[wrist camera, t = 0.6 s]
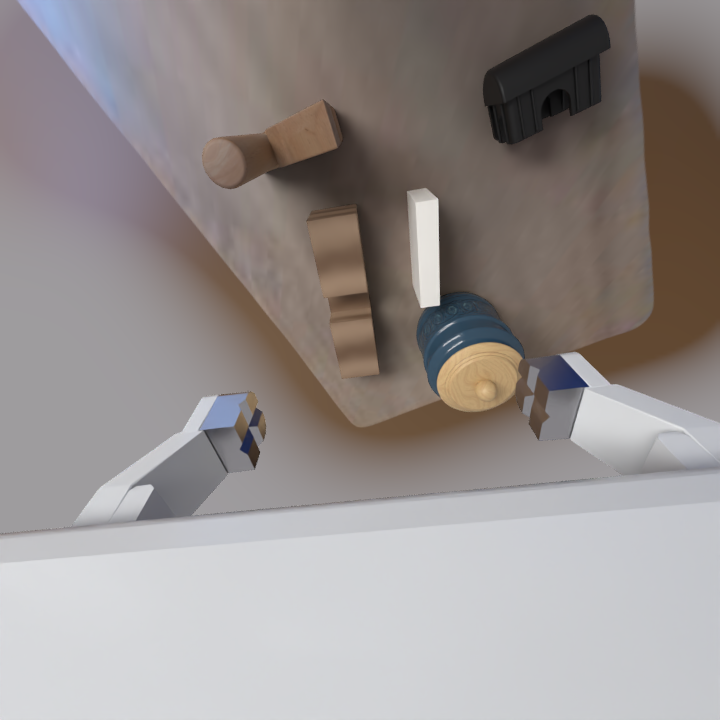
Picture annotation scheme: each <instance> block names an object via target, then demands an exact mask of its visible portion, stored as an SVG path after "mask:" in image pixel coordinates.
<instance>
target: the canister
mask: <svg viewBox="0 0 720 720" xmlns="http://www.w3.org/2000/svg"><path fill="white" fill-rule="evenodd" d="M417 342H418V346H419V349H420V351H421V353H422V356H423V359H424V367H425V370H426V372H427V377H428V382H429V384H430V386H431V388H432V390H433V391H434V392H435V393H436V394H437V395H438V396H439V397H440V398H442V400H443V401H444V402H445V403H446V404H448V405H449V406H451V407H452V408H454V409H457V410H460V411H466V412H479V411H485V410H489V409H492V408H495V407H497V406H499V405H501V404H503V403H504V402H506V401H507V400H509V399H510V398H511V397H512V396H513V395H514V394H515V390H516V383H517V382H518V380H519V379H520V378H521V377H522V376H521V375H520V373H519V372H518V367H519V363H520V361H521V359H525V355H524V350H523V347H522V345H521V343H520V342H519V341H518V339H517V338H516V337H515V336H513V334H512V332H511V330H510V329H509V328H508V326H507V325H506V324H505V323H503V322H502V320H501V319H500V318H499V316H498V314H497V312H496V310H495V309H494V308H493V306H492V305H491V304H490V303H489V302H488V301H486V300H485V299H483V298H481V297H480V296H478V295H475V294H472V293H468V292H455V293H450V294H447V295H444V296H442V297H440V305H439V306H432V307H427V308H426V309H425V310H424V312H423V313H422V315H421V317H420V319H419V322H418V326H417Z"/></svg>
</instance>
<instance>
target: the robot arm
mask: <svg viewBox="0 0 720 720" xmlns="http://www.w3.org/2000/svg"><path fill="white" fill-rule="evenodd" d="M518 372H519V373H520V375H521V376H522V377H521V378H520V379H519V380H518V382H517V383H516V390H515V393H516V400H517V403H518V406H519V408H520V410H521V412H522V413H523V414H525V415H526V416H528V417H530V419H529V425H530V427H531V429H532V430H533V432H534V433H535V435H536V437H537V439H538V440H539V441H543V440H556V439H568V438H570V440H571V441H573V442H574V443H576V444H577V445H579V446H580V447H582V448H583V449H584V450H586V451H587V452H589V453H590V454H592V455H593V456H595V457H596V458H598V459H599V460H601V461H602V462H604V463H605V464H607V465H608V466H610V467H611V468H612V469H614V470H615V471H617V472H618V473H620V474H621V475H623V476H613V477H603V478H592V479H582V480H571V481H561V482H550V483H539V484H529V485H518V486H507V487H497V488H484V489H474V490H463V491H452V492H441V493H430V494H419V495H409V496H398V497H387V498H376V499H366V500H355V501H345V502H334V503H323V504H312V505H301V506H291V507H280V508H270V509H258V510H248V511H237V512H226V513H215V514H205V515H195V516H191V515H192V514H193V513H194V512H195V511H196V510H197V509H198V507H199V506H200V505H201V504H202V503H203V502H204V501H205V500H206V498H207V497H208V496H209V495H210V494H211V493H212V492H213V491H214V490H215V488H216V487H217V486H218V485H219V484H220V483H221V482H222V481H223V480H224V478H225V477H226V476H227V475H228V474H227V473H233V472H241V471H249V470H255V468H256V464H257V461H258V458H259V455H260V451H259V448H258V446H259V445H260V444H261V443H262V442H263V441H264V438H265V434H266V423H265V418H264V415H263V413H262V411H260V410H259V409H257V408H256V405H257V403H258V400H257V398H256V396H255V394H254V393H253V392H251V391H250V392H240V393H229V394H221V395H211V396H205V397H203V398H202V399H201V400H200V402H199V404H198V406H197V407H196V409H195V411H194V412H193V414H192V416H191V417H190V419H189V421H188V422H187V424H186V426H185V427H184V429H183V431H182V432H181V433H176V434H175V435H174V436H172V437H171V438H169V439H168V440H167V441H165V442H164V443H162V444H161V445H159V446H158V447H157V448H155V449H154V450H152V451H151V452H150V453H148V454H147V455H145V456H144V457H143V458H141V459H140V460H138V461H137V462H136V463H134V464H133V465H132V466H130V467H128V468H127V469H126V470H124V471H123V472H121V473H120V474H119V475H118V476H116V477H114V478H113V479H112V480H110V481H109V482H107V483H106V484H105V485H103V486H102V487H100V488H99V489H98V491H97V492H96V493H95V495H94V496H93V497H92V499H91V500H90V502H89V503H88V504H87V506H86V507H85V509H84V510H83V511H82V512H81V514H80V515H79V517H78V518H77V520H76V521H75V522H74V523H73V525H72V526H71V527H64V528H54V529H43V530H32V531H21V532H11V533H0V720H720V423H718V422H716V421H713V420H710V419H708V418H705V417H702V416H700V415H697V414H695V413H692V412H689V411H687V410H684V409H681V408H679V407H676V406H673V405H670V404H668V403H665V402H663V401H660V400H657V399H655V398H652V397H650V396H647V395H644V394H642V393H639V392H636V391H634V390H631V389H628V388H626V387H623V386H620V385H618V384H614V385H611V384H610V383H609V382H608V381H607V380H606V379H605V378H604V377H603V376H602V375H601V374H600V373H599V372H598V371H597V370H595V369H594V367H593V366H591V365H590V364H589V363H588V362H587V361H586V360H585V359H584V358H583V357H582V356H581V355H580V354H579V353H576V352H570V353H563V354H557V355H553V356H545V357H537V358H529V359H521V361H520V363H519V367H518Z"/></svg>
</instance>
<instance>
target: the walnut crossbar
mask: <svg viewBox="0 0 720 720" xmlns="http://www.w3.org/2000/svg"><path fill="white" fill-rule="evenodd" d="M306 222H307V226H308V231H309V235H310V239H311V244H312V248H313V253H314V257H315V262H316V266H317V270H318V275H319V279H320V284H321V288H322V293H323V297H324V298H328V301H329V306H330V310H331V317H330V328H331V332H332V337H333V341H334V346H335V350H336V354H337V359H338V363H339V368H340V372H341V377H342V379H345V378H353V377H361V376H369V375H377V374H379V364H378V353H377V346H376V339H375V332H374V325H373V318H372V311H371V304H370V297H369V290H368V283H367V276H366V269H365V262H364V255H363V248H362V241H361V234H360V227H359V220H358V213H357V206H356V204H352V205H346V206H340V207H334V208H327V209H321V210H315V211H312V212H311V214H310V216H309V218H308V219H307V221H306Z"/></svg>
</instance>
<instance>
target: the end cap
mask: <svg viewBox="0 0 720 720" xmlns="http://www.w3.org/2000/svg"><path fill="white" fill-rule="evenodd" d="M609 48H610V38H609V33H608V30H607V27H606V25H605V23H604V21H603V20H602V19H601V18H600V17H599V16H597V15H588V16H586V17H585V18H583V19H581V20H579V21H577V22H575V23H574V24H572V25H570V26H568V27H566V28H564V29H563V30H561V31H559V32H557V33H555V34H554V35H552V36H550V37H548V38H546V39H544V40H543V41H541V42H539V43H537V44H535V45H533V46H532V47H530V48H528V49H526V50H524V51H522V52H521V53H519V54H517V55H515V56H513V57H512V58H510V59H508V60H506V61H504V62H502V63H501V64H499V65H497V66H495V67H493V68H491V69H490V70H488V71H487V73H486V75H485V77H484V83H483V95H484V103H485V106H488V111H489V117H490V122H491V127H492V132H493V137H494V139H495V140H499V143H505V142H506V143H507V144H515V143H517V142H519V141H522V140H524V139H526V138H528V137H530V136H532V135H534V134H536V133H538V132H540V131H542V130H543V126H542V119H544V118H546V117H548V116H550V117H552V116H554V115H556V114H558V113H560V112H562V111H564V110H566V109H568V108H569V110H570V116H573V115H575V114H577V113H579V112H581V111H583V110H585V109H587V108H589V107H591V106H593V105H595V104H597V103H599V102H601V81H600V57H599V54H600V53H602V52H604V51H606V50H608V49H609Z"/></svg>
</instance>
